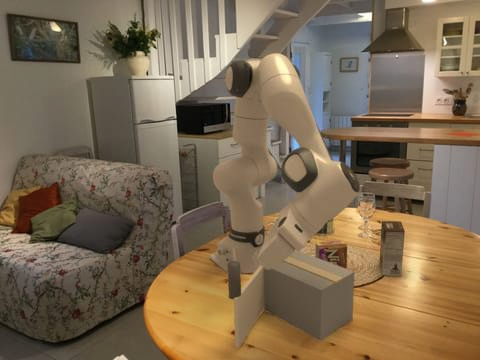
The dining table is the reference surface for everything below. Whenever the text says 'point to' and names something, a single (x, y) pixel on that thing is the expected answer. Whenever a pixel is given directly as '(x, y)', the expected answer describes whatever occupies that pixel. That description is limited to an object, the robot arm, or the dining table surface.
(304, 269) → the carton
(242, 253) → the robot arm
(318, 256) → the candy box
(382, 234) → the coffee box
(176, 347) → the dining table surface
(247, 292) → the flap
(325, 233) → the coffee can
